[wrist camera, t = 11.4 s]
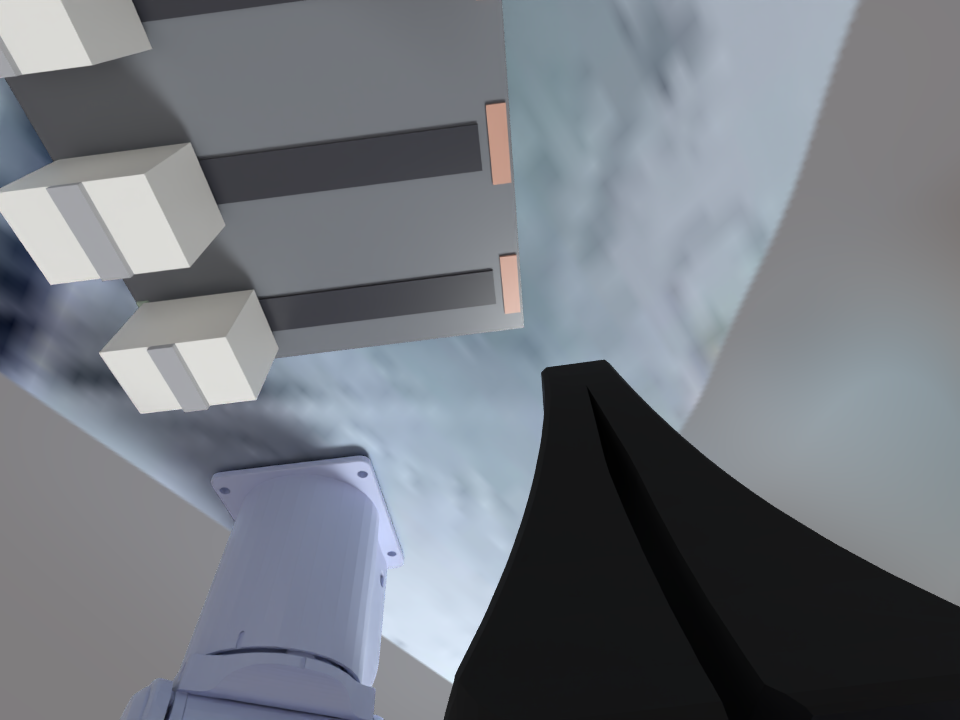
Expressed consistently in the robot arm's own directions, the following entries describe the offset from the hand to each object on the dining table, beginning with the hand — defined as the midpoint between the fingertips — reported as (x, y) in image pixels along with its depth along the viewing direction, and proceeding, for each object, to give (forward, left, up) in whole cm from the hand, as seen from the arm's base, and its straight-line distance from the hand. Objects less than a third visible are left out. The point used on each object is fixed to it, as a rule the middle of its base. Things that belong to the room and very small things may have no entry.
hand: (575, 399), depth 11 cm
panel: (+3, +7, -10) cm, 13 cm away
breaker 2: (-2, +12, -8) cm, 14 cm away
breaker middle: (+3, +12, -8) cm, 15 cm away
